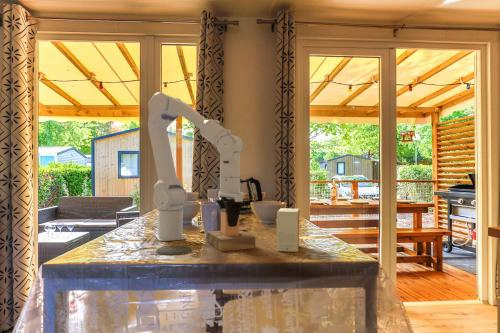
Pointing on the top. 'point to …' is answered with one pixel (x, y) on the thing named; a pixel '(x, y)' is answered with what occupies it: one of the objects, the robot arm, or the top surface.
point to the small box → (288, 229)
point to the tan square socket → (231, 241)
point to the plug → (225, 227)
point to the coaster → (174, 250)
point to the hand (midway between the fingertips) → (229, 225)
